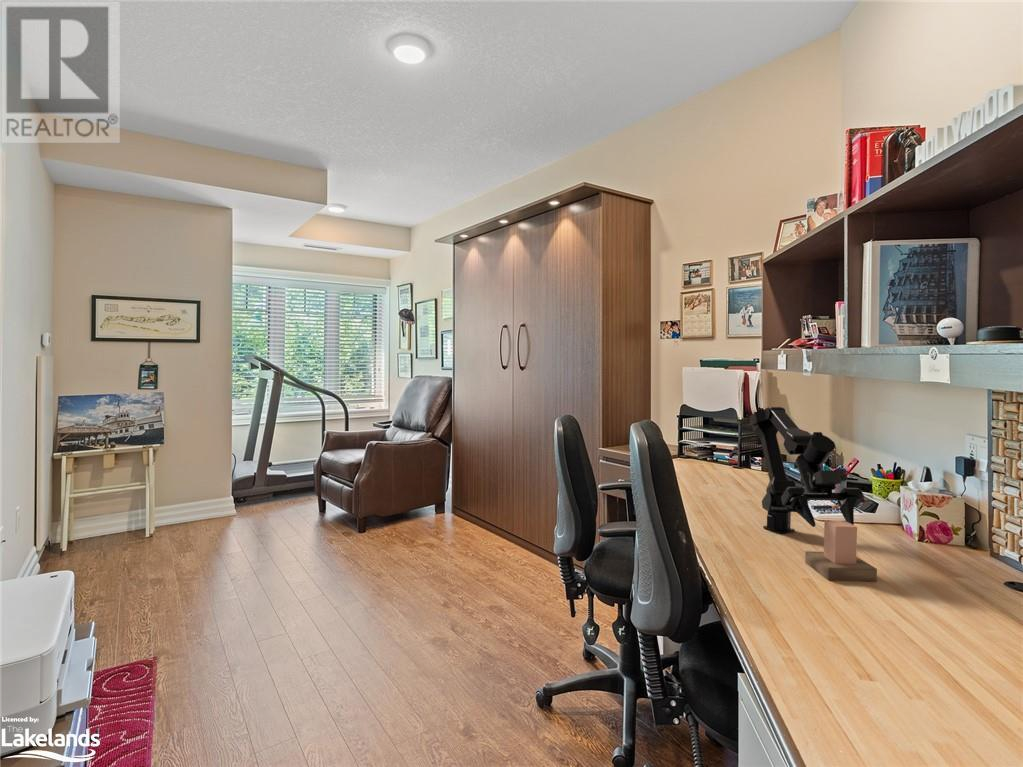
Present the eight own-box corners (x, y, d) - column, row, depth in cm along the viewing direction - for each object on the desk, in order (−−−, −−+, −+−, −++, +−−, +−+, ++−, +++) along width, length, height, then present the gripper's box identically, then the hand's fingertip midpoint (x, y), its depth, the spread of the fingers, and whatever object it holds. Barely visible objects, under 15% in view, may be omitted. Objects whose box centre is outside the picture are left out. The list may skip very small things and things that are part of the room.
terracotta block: (823, 555, 132) (824, 520, 132) (844, 556, 132) (845, 520, 132) (834, 563, 127) (835, 526, 127) (856, 563, 127) (857, 526, 127)
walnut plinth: (805, 562, 135) (805, 551, 135) (849, 563, 135) (849, 552, 135) (828, 580, 124) (828, 567, 124) (876, 581, 124) (877, 569, 124)
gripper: (787, 456, 138) (806, 510, 127) (861, 457, 136) (887, 511, 126) (773, 479, 146) (790, 531, 135) (843, 480, 145) (866, 533, 134)
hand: (833, 526), depth 132 cm, fingers open, 9 cm apart
